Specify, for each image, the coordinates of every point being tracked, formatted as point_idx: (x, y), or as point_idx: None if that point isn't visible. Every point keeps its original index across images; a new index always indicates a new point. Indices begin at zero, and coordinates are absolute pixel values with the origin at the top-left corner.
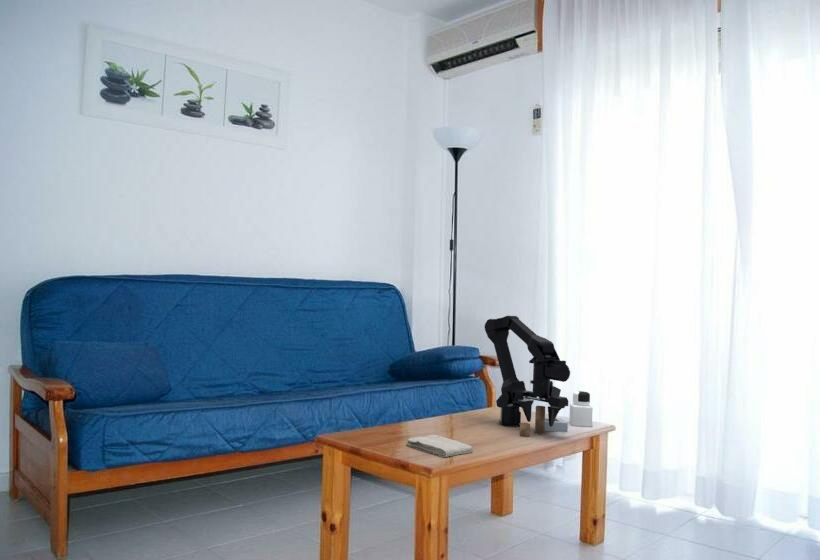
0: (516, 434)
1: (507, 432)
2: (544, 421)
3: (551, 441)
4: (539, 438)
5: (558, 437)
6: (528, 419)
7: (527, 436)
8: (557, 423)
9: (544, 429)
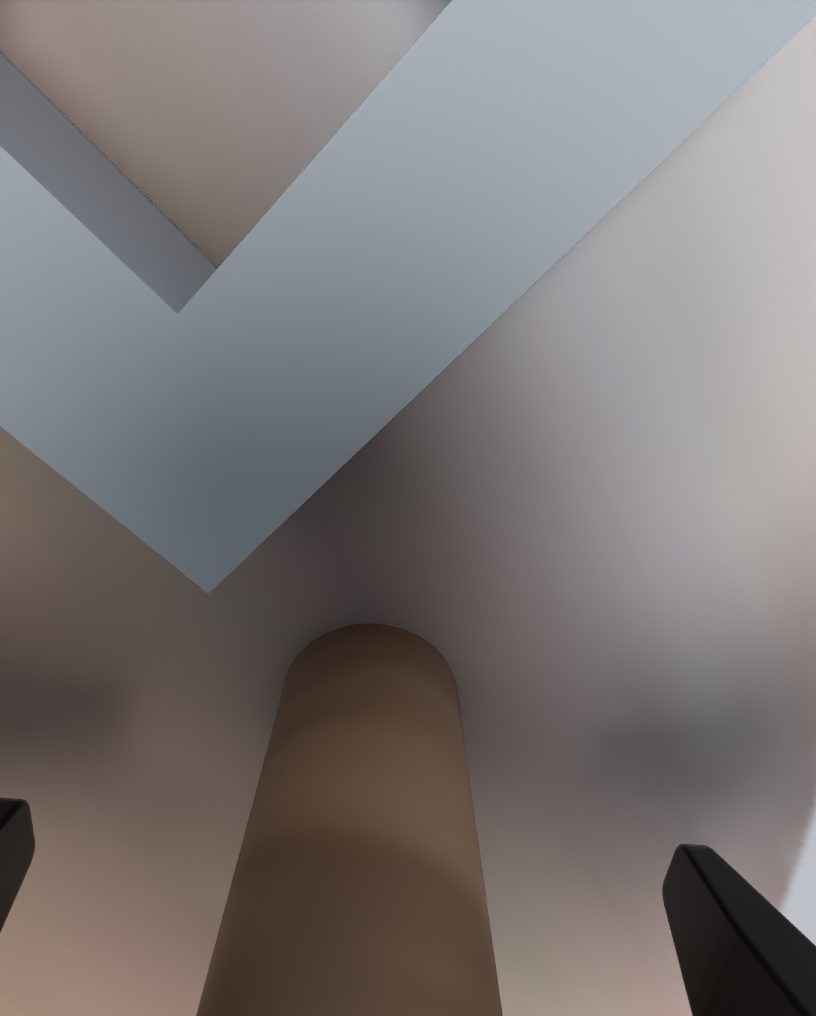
0: None
1: (53, 986)
2: (486, 906)
3: None
4: (566, 952)
5: (763, 718)
6: (5, 916)
7: None
8: (571, 239)
9: (460, 729)
